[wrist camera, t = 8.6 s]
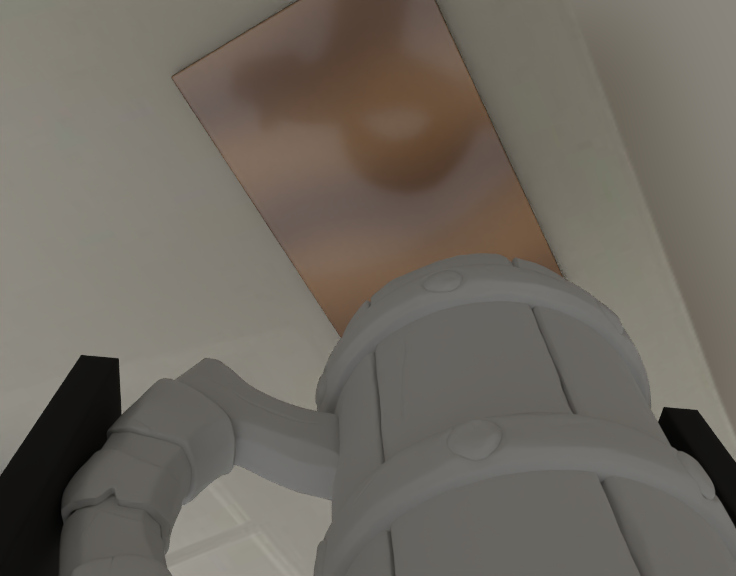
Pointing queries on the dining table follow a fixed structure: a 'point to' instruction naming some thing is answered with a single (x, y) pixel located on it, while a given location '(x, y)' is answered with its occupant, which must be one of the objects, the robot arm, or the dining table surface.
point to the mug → (427, 444)
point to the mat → (362, 145)
